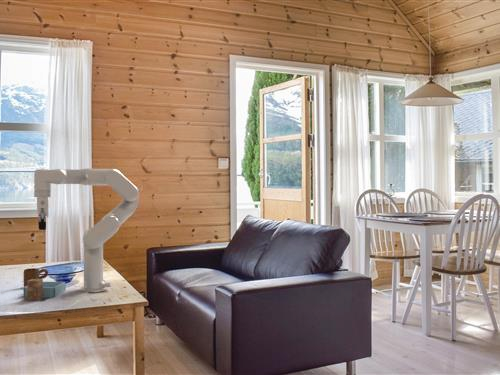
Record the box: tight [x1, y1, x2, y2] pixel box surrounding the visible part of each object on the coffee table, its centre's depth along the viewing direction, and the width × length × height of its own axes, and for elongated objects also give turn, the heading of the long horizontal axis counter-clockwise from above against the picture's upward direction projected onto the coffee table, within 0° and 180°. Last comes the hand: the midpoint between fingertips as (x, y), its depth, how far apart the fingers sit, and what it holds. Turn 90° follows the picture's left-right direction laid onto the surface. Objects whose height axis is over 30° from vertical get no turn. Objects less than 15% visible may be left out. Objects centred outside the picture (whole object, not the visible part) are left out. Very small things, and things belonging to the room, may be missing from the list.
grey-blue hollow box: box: [20, 297, 50, 302], centre depth 234 cm, size 11×7×5 cm, turn 89°
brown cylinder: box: [26, 278, 44, 302], centre depth 234 cm, size 5×5×9 cm
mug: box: [23, 267, 49, 287], centre depth 264 cm, size 12×8×9 cm, turn 123°
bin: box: [23, 281, 67, 298], centre depth 245 cm, size 15×13×6 cm
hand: (42, 228), depth 250 cm, fingers open, 9 cm apart
